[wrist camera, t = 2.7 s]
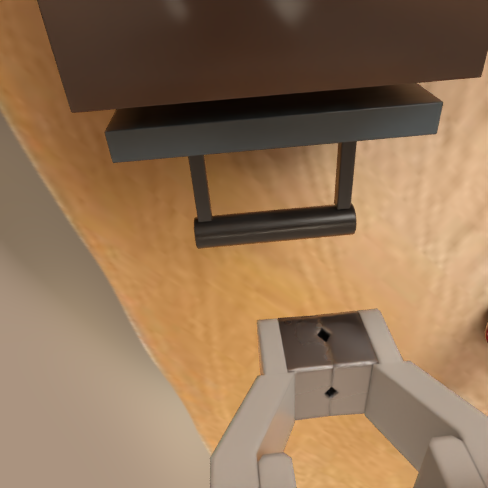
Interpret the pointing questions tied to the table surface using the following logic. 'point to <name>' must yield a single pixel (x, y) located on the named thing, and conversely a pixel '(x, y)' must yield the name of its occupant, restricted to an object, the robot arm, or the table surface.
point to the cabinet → (256, 47)
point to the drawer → (269, 137)
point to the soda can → (486, 332)
